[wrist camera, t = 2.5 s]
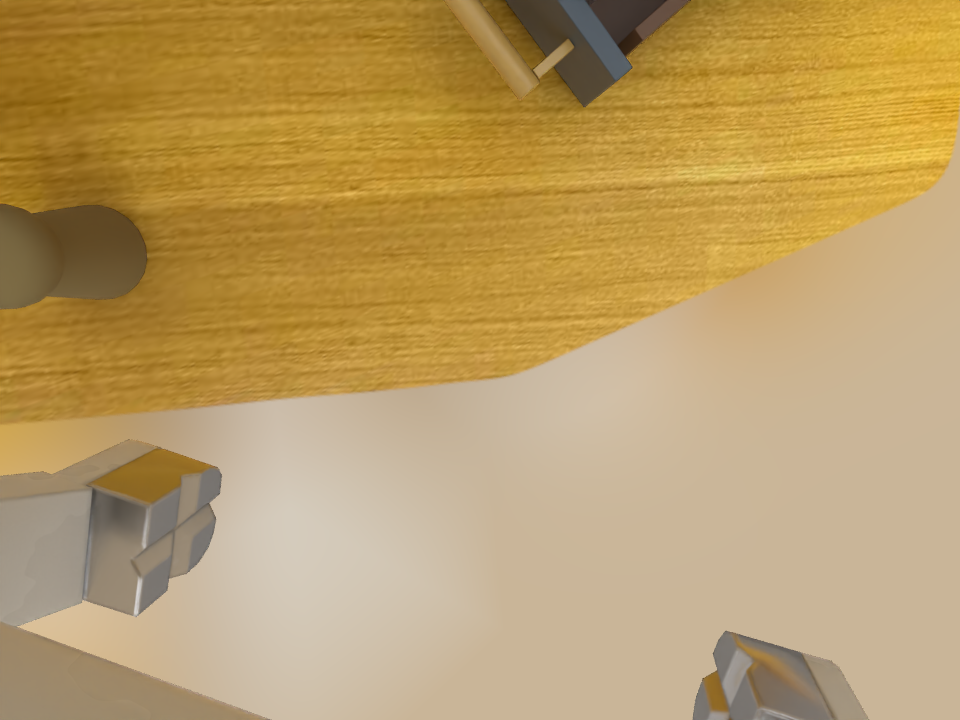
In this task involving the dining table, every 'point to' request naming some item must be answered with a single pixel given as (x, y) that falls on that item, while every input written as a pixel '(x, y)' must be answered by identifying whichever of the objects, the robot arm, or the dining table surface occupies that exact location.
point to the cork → (67, 254)
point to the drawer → (567, 39)
